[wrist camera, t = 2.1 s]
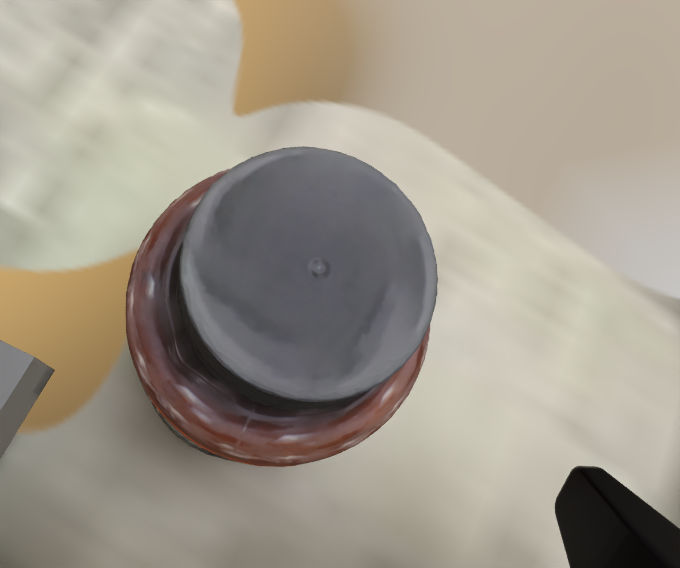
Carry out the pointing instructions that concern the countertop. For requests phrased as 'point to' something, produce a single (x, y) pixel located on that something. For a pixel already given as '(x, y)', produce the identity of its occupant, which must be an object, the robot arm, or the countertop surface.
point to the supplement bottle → (282, 307)
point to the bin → (18, 389)
